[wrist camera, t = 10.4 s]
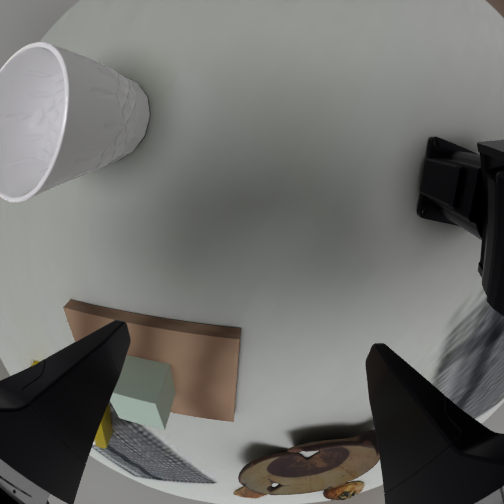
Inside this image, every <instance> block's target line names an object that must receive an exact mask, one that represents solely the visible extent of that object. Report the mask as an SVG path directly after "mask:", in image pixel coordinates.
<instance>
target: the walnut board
mask: <svg viewBox="0 0 504 504" xmlns="http://www.w3.org/2000/svg"><path fill="white" fill-rule="evenodd" d="M63 308H64V311H65V314H66V317H67V320H68V323H69V326H70V328H71V331H72V334H73V337H74V339H75V342H76V341H78V340H80V339H82V338H84V337H85V336H87V335H89V334H91V333H93V332H94V331H96V330H98V329H100V328H102V327H103V326H105V325H107V324H109V323H111V322H112V321H114V320H121V321H125V322H126V323H127V326H128V330H129V334H130V338H131V342H130V346H129V349H128V352H127V355H129V356H133V357H138V358H142V359H147V360H152V361H157V362H162V363H168V364H170V367H171V373H172V378H173V383H174V388H175V392H176V394H175V397H174V401H173V404H172V407H171V411H170V412H173V413H178V414H183V415H189V416H194V417H201V418H207V419H214V420H222V421H231V422H234V413H235V400H236V387H237V374H238V361H239V348H240V335H241V328H234V327H225V326H216V325H208V324H200V323H193V322H186V321H179V320H172V319H166V318H159V317H153V316H148V315H142V314H136V313H131V312H126V311H121V310H116V309H111V308H106V307H101V306H97V305H92V304H88V303H83V302H79V301H75V300H70V301H69V302H68V303H67V304H66V305H65V306H64V307H63Z"/></svg>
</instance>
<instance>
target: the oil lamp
mask: <svg viewBox="0 0 504 504" xmlns="http://www.w3.org/2000/svg"><path fill="white" fill-rule="evenodd" d="M318 450H319V452H318V453H316V454H315V455H313V456H311V458H308V459H305V458H304V457H303V456H302V455H300V454H298V452H301V451H306V452H307V451H318ZM287 451H288V452H282V453H276V454H273V455H269V456H265V457H262V458H259V459H256V460H254V461H251V462H250V463H248V464H247V465H246V466H244V467H243V469H242V470H241V472H240V474H239V477H238V479H239V482H240V483H241V484H242V485H243V486H245V487H246V488H248V489H250V490H253V492H255V493H264V494H270V495H291V494H303V493H311V492H316V491H321V490H326V489H329V488H334V487H337V486H340V485H343V484H345V483H347V482H348V481H352V480H354V479H356V478H358V477H359V476H361V475H363V474H364V473H366V472H367V471H369V470H370V469H371V468H373V467H374V466H375V465H376V464H377V462H378V461H379V460H380V455H379V449H378V443H377V437H376V432H375V430H367V431H365V432H363V433H361V434H359V435H358V436H356V437H352V438H346V439H334V440H324V441H317V442H312V443H307V444H302V445H298V446H294V447H291V448H289V449H288V450H287ZM273 483H278V484H279V485H277V486H276V487H272V484H273Z"/></svg>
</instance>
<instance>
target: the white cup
mask: <svg viewBox="0 0 504 504" xmlns="http://www.w3.org/2000/svg"><path fill="white" fill-rule="evenodd" d="M149 117H150V112H149V105H148V98H147V95H146V94H145V93H144V91H143V90H142V89H141V87H140V86H139V84H138V83H137V82H135V81H133V80H130V79H128V78H126V77H124V76H122V75H121V74H119V73H118V72H116V71H115V70H113V69H111V68H109V67H107V66H104V65H102V64H100V63H98V62H96V61H94V60H92V59H89V58H87V57H84V56H82V55H79V54H76V53H74V52H71V51H68V50H65V49H63V48H60V47H57V46H54V45H51V44H49V43H45V42H36V43H32V44H29V45H27V46H25V47H23V48H21V49H20V50H19V51H17V52H16V53H15V54H14V55H12V56H11V57H10V58H9V59H8V61H7V62H6V63H5V64H4V65H3V67H2V68H1V69H0V197H1V198H2V199H4V200H6V201H9V202H14V203H17V202H23V201H25V200H28V199H30V198H32V197H34V196H36V195H38V194H40V193H42V192H44V191H46V190H49V189H51V188H53V187H55V186H58V185H60V184H62V183H65V182H67V181H70V180H72V179H75V178H77V177H80V176H82V175H85V174H87V173H89V172H91V171H94V170H97V169H99V168H101V167H103V166H105V165H107V164H110V163H113V162H116V161H118V160H120V159H122V158H123V157H125V156H127V155H128V154H130V153H132V152H133V151H134V150H135V148H136V147H137V145H138V144H139V143H140V141H141V140H142V139H143V137H144V136H145V132H146V129H147V125H148V121H149Z"/></svg>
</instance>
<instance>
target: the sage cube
mask: <svg viewBox="0 0 504 504" xmlns="http://www.w3.org/2000/svg"><path fill="white" fill-rule="evenodd" d="M175 394H176V392H175V388H174V383H173V378H172V373H171V367H170V364H168V363H162V362H157V361H152V360H147V359H142V358H138V357H133V356H129V355H126V359H125V362H124V365H123V368H122V371H121V374H120V377H119V380H118V382H117V384H116V387H115V389H114V391H113V394H112V396H111V399H110V401H111V403H112V405H113V407H114V409H115V411H116V413H117V414H118V416H119V418H121V419H124V420H128V421H131V422H135V423H138V424H142V425H146V426H150V427H154V428H158V429H162V430H165V428H166V424H167V421H168V417H169V414H170V411H171V407H172V404H173V401H174V397H175Z"/></svg>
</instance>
